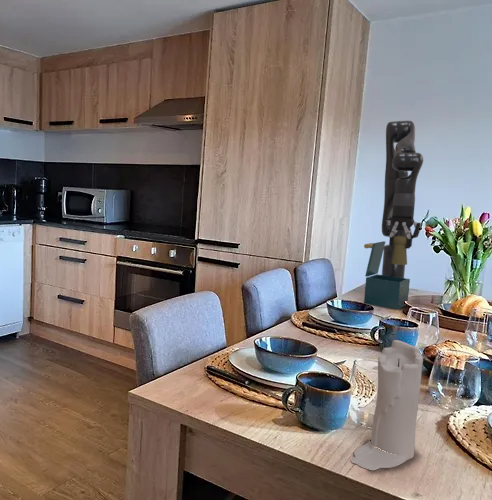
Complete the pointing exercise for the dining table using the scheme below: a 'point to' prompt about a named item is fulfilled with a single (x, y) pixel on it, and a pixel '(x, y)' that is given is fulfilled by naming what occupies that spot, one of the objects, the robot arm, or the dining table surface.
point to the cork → (399, 251)
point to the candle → (394, 408)
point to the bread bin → (386, 291)
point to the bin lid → (374, 257)
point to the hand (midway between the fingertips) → (400, 247)
